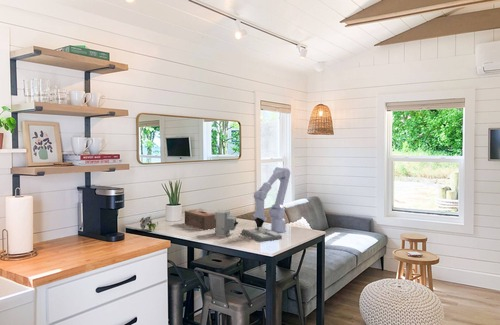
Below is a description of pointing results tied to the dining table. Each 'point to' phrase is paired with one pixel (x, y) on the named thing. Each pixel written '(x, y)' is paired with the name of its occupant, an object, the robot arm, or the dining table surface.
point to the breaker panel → (259, 236)
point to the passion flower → (147, 223)
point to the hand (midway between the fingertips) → (259, 229)
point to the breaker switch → (261, 230)
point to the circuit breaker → (224, 222)
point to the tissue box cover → (200, 219)
